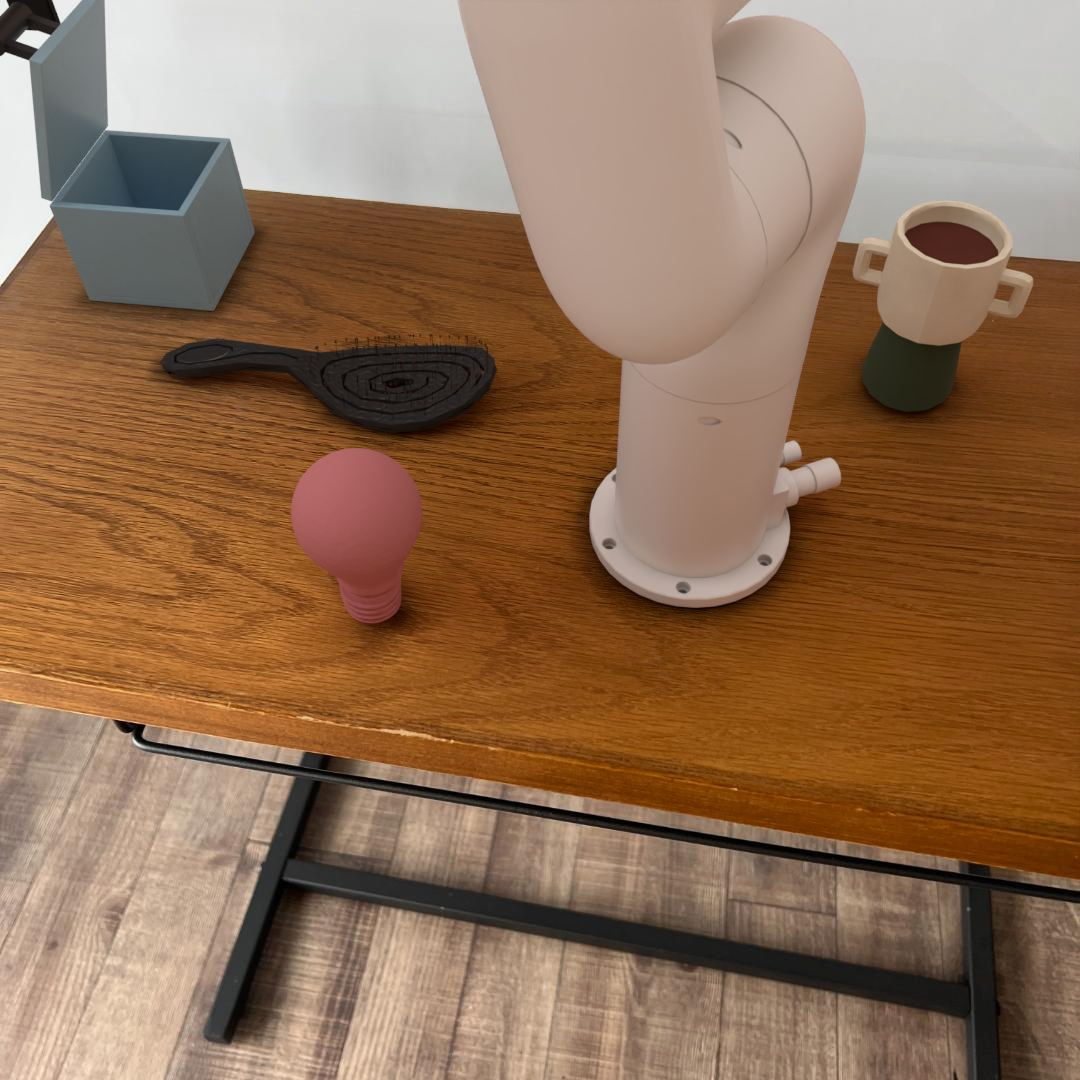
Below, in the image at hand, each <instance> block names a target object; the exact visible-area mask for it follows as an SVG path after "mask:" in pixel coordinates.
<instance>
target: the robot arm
mask: <svg viewBox="0 0 1080 1080" xmlns="http://www.w3.org/2000/svg"><path fill="white" fill-rule="evenodd" d="M5 1H6V2H7V3H6V4H7V6H8V7H9V6H10V5H11V4H12V3H14V2H21V3H23V4H25V5H26V6H28V7H29V8H30V10H31V11H32V13H33V14H34V15H37V16H40V17H42V18H45V19H48V20H51V21H54V22H56V23H59V24H61V23H62V22H61V20H60V18H59V14H58V12H57V8H56V7H55V4H54V1H53V0H5ZM751 1H752V0H457V5H458V11H459V15H460V20H461V24H462V27H463V31H464V34H465V38H466V42H467V45H468V49H469V53H470V56H471V60H472V63H473V67H474V70H475V72H476V76H477V80H478V82H479V86H480V89H481V92H482V95H483V98H484V102H485V106H486V108H487V111H488V115H489V118H490V120H491V126H492V128H493V131H494V134H495V138H496V141H497V144H498V147H499V151H500V153H501V156H502V160H503V163H504V166H505V170H506V173H507V176H508V179H509V183H510V186H511V189H512V192H513V196H514V199H515V202H516V205H517V208H518V212H519V215H520V218H521V222H522V224H523V228H524V231H525V233H526V238H527V241H528V243H529V245H530V249H531V251H532V254H533V257H534V260H535V263H536V265H537V267H538V269H539V272H540V274H541V276H542V278H543V281H544V282H545V285H546V287H547V289H548V290H549V293H550V294H551V296H552V298H553V299H554V300H555V301H554V302H556V303H557V305H558V307H559V308H560V309H561V311H562V312H563V314H564V315H565V317H566V318H567V319H568V321H570V322H571V324H572V325H573V326H574V327H575V329H577V330H578V331H579V332H580V333H581V335H583V336H584V337H585V338H587V340H589V341H590V342H591V343H592V344H594V345H595V346H597V347H598V348H600V349H601V350H603V351H605V352H606V353H608V354H609V355H612V356H614V357H616V358H619V359H621V377H620V393H619V394H620V395H619V398H620V399H619V415H618V432H617V433H618V434H617V451H616V452H617V453H616V455H617V456H616V467H615V468H614V469H613V470H611V472H609V473H608V474H607V475H606V476H605V477H604V478H603V480H602V481H601V483H600V484H599V485H598V487H597V489H596V491H595V493H594V494H593V498H592V500H591V503H590V509H589V521H588V522H589V524H588V525H589V528H588V529H589V535H590V540H591V545H592V548H593V550H594V552H595V554H596V556H597V558H598V560H599V562H600V563H601V565H602V566H603V567H604V568H605V570H606V571H607V572H608V573H609V574H610V576H612V577H613V578H614V579H615V580H616V581H617V582H618V583H620V584H621V585H622V586H624V587H626V588H627V589H629V590H630V591H632V592H634V593H636V594H637V595H639V596H641V597H644V598H646V599H648V600H651V601H654V602H657V603H660V604H664V605H669V606H673V607H681V608H693V609H694V608H695V609H699V608H711V607H719V606H723V605H727V604H731V603H733V602H738V601H739V600H742V599H743V598H745V597H748V596H751V595H752V594H754V593H756V592H757V591H758V590H759V589H761V588H762V587H764V586H765V585H766V584H767V583H769V581H770V580H771V579H772V578H773V577H774V576H775V575H776V574H777V572H778V571H779V569H780V567H781V566H782V563H783V561H784V560H785V557H786V553H787V550H788V547H789V544H790V543H789V542H790V536H791V523H790V516H789V512H788V508H789V507H792V506H795V505H797V504H798V502H799V499H800V498H801V497H804V496H807V495H810V494H811V495H815V494H819V493H821V492H824V491H827V490H831V489H834V488H836V487H838V486H840V485H841V481H842V472H841V470H840V467H839V464H838V463H837V462H836V460H835V459H833V458H832V457H826V458H823V459H819V460H816V461H812V462H810V463H807V464H803V465H802V466H801V467H798V468H796V469H792V470H790V469H788V468H787V467H785V466H786V465H790V464H793V463H797V462H799V461H801V459H802V456H803V455H802V449H801V446H800V444H799V442H797V440H790V441H787V437H788V432H789V427H790V423H791V419H792V415H793V410H794V405H795V401H796V396H797V392H798V387H799V384H800V378H801V375H802V370H803V366H804V363H805V359H806V356H807V351H808V346H809V342H810V339H811V333H812V331H813V326H814V321H815V317H816V313H817V310H818V305H819V301H820V297H821V294H822V291H823V287H824V284H825V280H826V277H827V274H828V271H829V268H830V264H831V261H832V258H833V255H834V253H835V249H836V247H837V244H838V240H839V238H840V236H841V233H842V229H843V226H844V224H845V221H846V218H847V214H848V213H849V210H850V206H851V203H852V201H853V197H854V194H855V191H856V187H857V184H858V180H859V176H860V173H861V169H862V165H863V164H862V163H863V159H864V153H865V146H866V133H867V129H866V128H867V127H866V126H867V125H866V121H867V120H866V109H865V102H864V97H863V93H862V88H861V86H860V83H859V80H858V78H857V75H856V73H855V71H854V69H853V67H852V66H851V63H850V61H849V59H848V58H847V57H846V55H845V54H844V53H843V52H842V50H841V49H840V48H839V47H838V45H836V43H834V41H833V40H831V39H830V37H828V36H827V35H826V34H824V33H823V32H822V31H820V30H819V29H818V28H816V27H814V26H813V25H810V24H808V23H807V22H804V21H802V20H801V21H800V20H797V19H794V18H791V17H787V16H781V15H768V14H767V15H765V14H763V15H762V14H761V15H753V16H747V17H744V18H739V19H735V20H732V19H733V18H734V17H735V16H736V15H737V14H738V13H739V12H740V11H741V10H743V9H744V8H745V7H746V6H747V5H748V4H749V3H750V2H751ZM731 20H732V21H731ZM25 31H32V32H33V31H34V32H38V31H37V30H34V29H32V28H29V27H28V28H27V29H26V30H25ZM786 441H787V442H786Z"/></svg>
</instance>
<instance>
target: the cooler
mask: <svg viewBox="0 0 1080 1080" xmlns="http://www.w3.org/2000/svg"><path fill="white" fill-rule="evenodd" d="M231 141H232V140H231V138H226V137H214V136H198V135H186V134H185V135H183V134H169V133H168V134H167V133H156V132H155V133H153V132H137V131H124V130H123V131H122V130H110V129H109V130H108V129H105V131H104V132H103V133H102V135H101V136H100V137H99V139H98V140H97V142H96V143H95V144H94V146H93V147H92V148H91V150H90V151H89V152H88V154H87V155H86V156H85V158H84V159H83V160H82V162H81V163H80V164H79V166H78V167H77V169H76V170H75V171H74V173H73V174H72V175H71V177H70V178H69V179H68V181H67V182H66V183H65V185H64V186H63V187H62V189H61V190H60V191H59V193H58V194H57V195H56V197H55V198H54V200H53V201H51V203H50V204H49V208H50V211H51V214H52V215H53V218H54V220H55V223H56V225H57V228H58V229H59V231H60V234H61V236H62V238H63V241H64V243H65V245H66V248H67V250H68V253H69V255H70V257H71V259H72V262H73V264H74V267H75V269H76V271H77V273H78V276H79V278H80V280H81V282H82V285H83V287H84V290H85V292H86V294H87V296H88V299H89V301H91V302H92V301H93V302H104V303H115V304H127V305H136V306H137V305H138V306H139V305H140V306H150V307H151V306H152V307H160V308H161V307H163V308H172V309H184V310H185V309H186V310H197V311H206V312H207V311H209V312H214V311H215V309H216V308H217V306H218V304H219V302H220V300H221V298H222V296H223V294H224V293H225V291H226V289H227V287H228V285H229V283H230V281H231V279H232V277H233V275H234V274H235V272H236V269H237V267H238V266H239V264H240V262H241V261H242V258H243V256H244V254H245V252H246V251H247V248H249V245H250V243H251V242H252V239H253V237H254V236H255V234H256V232H255V229H254V224H253V221H252V217H251V213H250V210H249V209H250V208H249V206H248V202H247V197H246V194H245V190H244V186H243V183H242V178H241V175H240V171H239V167H238V164H237V160H236V156H235V152H234V149H233V148H234V147H233V145H232V142H231Z"/></svg>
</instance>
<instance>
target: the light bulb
mask: <svg viewBox="0 0 1080 1080" xmlns="http://www.w3.org/2000/svg"><path fill="white" fill-rule="evenodd" d="M290 519H291V526H292V530H293V534H294V536H295V539H296V541H297V542H298V545H299V546H300V548H301V549H302V551H303V552H304V553H305V555H306V556H307V558H309V559H310V560H311V561H312V562H313V563H314V564H315V565H317V566H318V567H319V568H321V569H323V570H324V571H325V572H326V573H328V574H330V575H332V576H334V577H335V578H336V580H337V582H338V585H339V592H340V597H341V599H342V602H343V604H344V608H345V610H346V612H347V613H348V615H350V617H352V618H353V619H354V620H357V621H359V622H361V623H365V624H380V623H382V622H385V621H386V620H389V619H391V618H392V617H394V615H395V614H396V613H397V612H398V610H399V609H400V607H401V603H402V580H401V578H402V577H403V574H404V571H405V561H406V559H407V558H408V556H409V555H410V553H411V551H412V550H413V547H414V546H415V545H416V542H417V540H418V538H419V535H420V532H421V528H422V524H423V523H422V522H423V503H422V498H421V494H420V491H419V489H418V487H417V485H416V482H415V481H414V479H413V477H412V476H411V475H410V473H409V472H408V471H407V470H406V469H405V468H404V466H403V465H402V464H400V463H399V462H398V461H396V460H395V459H393V458H392V457H391V456H388V455H387V454H384V453H383V452H381V451H378V450H374V449H370V448H369V449H368V448H363V447H348V448H343V449H339V450H335V451H333V452H330V453H327V454H326V455H324V456H322V457H320V458H319V459H318V460H316V461H315V462H314V463H312V465H310V466H309V467H308V468H307V470H306V471H305V472H304V473H303V474H302V476H301V477H300V479H299V481H298V483H297V485H296V487H295V489H294V492H293V495H292V498H291V506H290Z"/></svg>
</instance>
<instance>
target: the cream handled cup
mask: <svg viewBox="0 0 1080 1080" xmlns="http://www.w3.org/2000/svg"><path fill="white" fill-rule="evenodd" d="M1013 244H1014V243H1013V235H1012V232H1011V231H1010V229H1009V228H1008V227H1007V225H1006V223H1004V221H1003V220H1002V219H1001V218H999V217H997V216H996V215H995V214H994V213H992V212H990V211H989V210H987V209H985V208H982V207H980V206H977V205H976V204H971V203H968V202H964V201H958V200H942V199H941V200H933V201H928V202H921V203H919V204H917V205H915V206H912V207H911V208H908V209H906V210H905V212H904V213H903V214H901V216H900V218H899V219H897V222H896V225H895V227H894V229H893V233H892V237H891V241H890V240H886V239H881V238H877V237H873V236H871V237H864V238H862V239H861V240H860V242H859V243H858V248H857V251H856V255H855V259H854V263H853V267H852V276H853V279H854V280H856V281H858V282H860V283H862V284H863V283H864V284H867V285H871V286H874V287H875V286H876V287H878V288H877V295H876V297H877V298H876V306H877V312H878V314H879V316H880V318H881V320H882V323H881V324H880V327H879V329H878V330H877V332H876V335H875V337H874V339H873V341H872V343H871V345H870V347H869V348H868V351H867V353H866V356H865V359H864V361H863V363H862V365H861V381H862V383H863V385H864V387H865V388H866V390H867V391H868V393H869V395H870V396H872V397H873V398H874V399H876V400H877V401H878V402H879V403H881V404H882V405H884V406H885V407H887V408H891V409H895V410H898V411H901V412H905V413H907V412H919V411H928V410H930V409H932V408H934V407H937V406H938V405H940V404H942V403H944V402H945V401H946V399H947V398H948V396H949V395H950V394H951V392H952V391H953V389H954V388H953V387H954V383H955V379H956V375H957V370H958V363H959V359H960V354H961V348H962V342H963V341H964V340H966V339H968V338H970V337H972V336H973V335H974V334H975V333H976V332H977V331H978V329H979V328H980V327H981V326H982V324H983V323H984V321H985V319H986V318H987V316H988V314H990V315H994V316H997V317H1002V318H1007V319H1015V318H1018V317H1019V315H1020V314H1021V313H1022V312H1023V310H1024V308H1025V305H1026V304H1027V301H1028V299H1029V296H1030V294H1031V292H1032V289H1033V287H1034V277H1032V276H1031V275H1030V274H1028V273H1026V272H1023V271H1019V270H1014V269H1010V268H1007V265H1008V262H1009V260H1010V258H1011V255H1012V252H1013V248H1014V245H1013ZM873 255H877V256H882V257H886V258H885V262H884V265H883V269H882V270H878V269H873V268H870V264H871V261H872V258H873ZM1000 285H1004V286H1008V287H1013V290H1012V293H1011V295H1010V298H1009V301H1006V300H1002V299H999V298H995V296H996V294H997V291H998V289H999V286H1000Z"/></svg>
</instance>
